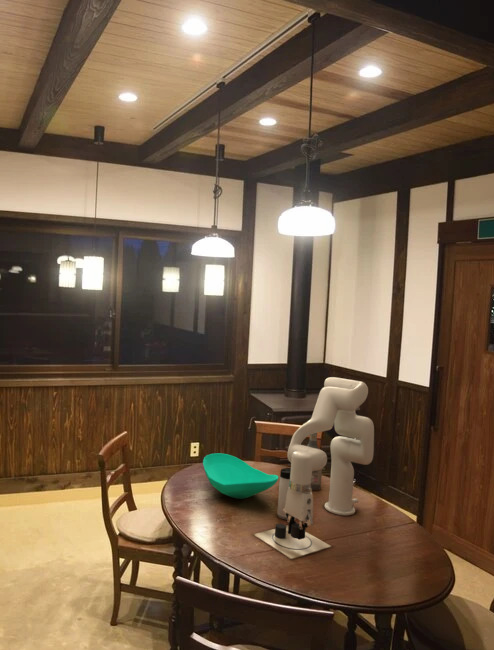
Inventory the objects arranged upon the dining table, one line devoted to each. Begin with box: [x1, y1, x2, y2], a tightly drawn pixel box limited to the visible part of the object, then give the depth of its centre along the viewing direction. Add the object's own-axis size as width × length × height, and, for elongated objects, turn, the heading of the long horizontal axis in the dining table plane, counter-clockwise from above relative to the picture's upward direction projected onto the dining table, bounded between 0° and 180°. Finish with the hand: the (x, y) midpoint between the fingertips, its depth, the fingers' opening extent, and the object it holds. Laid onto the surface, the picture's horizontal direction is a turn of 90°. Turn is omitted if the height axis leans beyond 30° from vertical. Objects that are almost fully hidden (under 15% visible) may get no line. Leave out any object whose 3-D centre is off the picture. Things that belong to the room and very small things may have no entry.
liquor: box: [306, 433, 323, 491], centre depth 255 cm, size 9×9×30 cm
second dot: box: [291, 522, 300, 539], centre depth 194 cm, size 4×4×4 cm
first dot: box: [274, 523, 287, 539], centre depth 201 cm, size 4×4×4 cm
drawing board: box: [253, 524, 332, 560], centre depth 199 cm, size 20×20×1 cm
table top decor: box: [202, 452, 280, 500], centre depth 239 cm, size 40×28×13 cm
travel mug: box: [276, 467, 291, 520], centre depth 219 cm, size 6×7×20 cm
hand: (296, 535), depth 194 cm, fingers closed on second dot, 4 cm apart
